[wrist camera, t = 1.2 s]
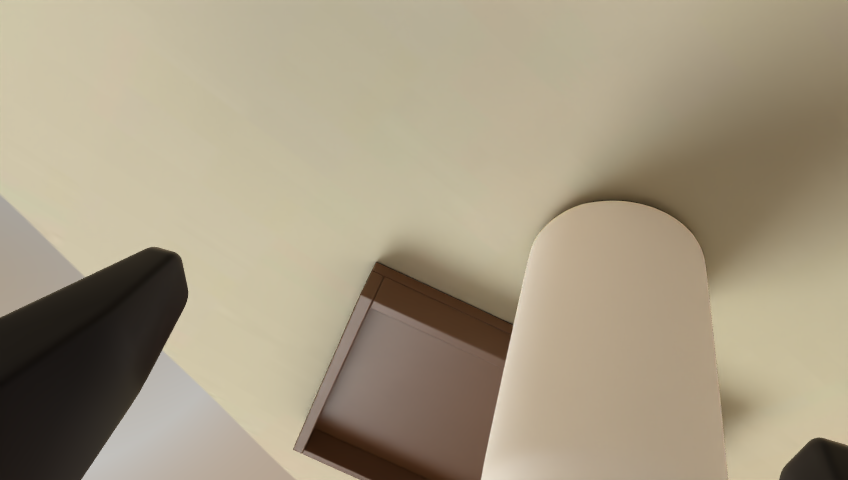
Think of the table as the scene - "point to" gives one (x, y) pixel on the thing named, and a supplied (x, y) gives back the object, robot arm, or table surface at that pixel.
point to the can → (610, 355)
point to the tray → (408, 386)
